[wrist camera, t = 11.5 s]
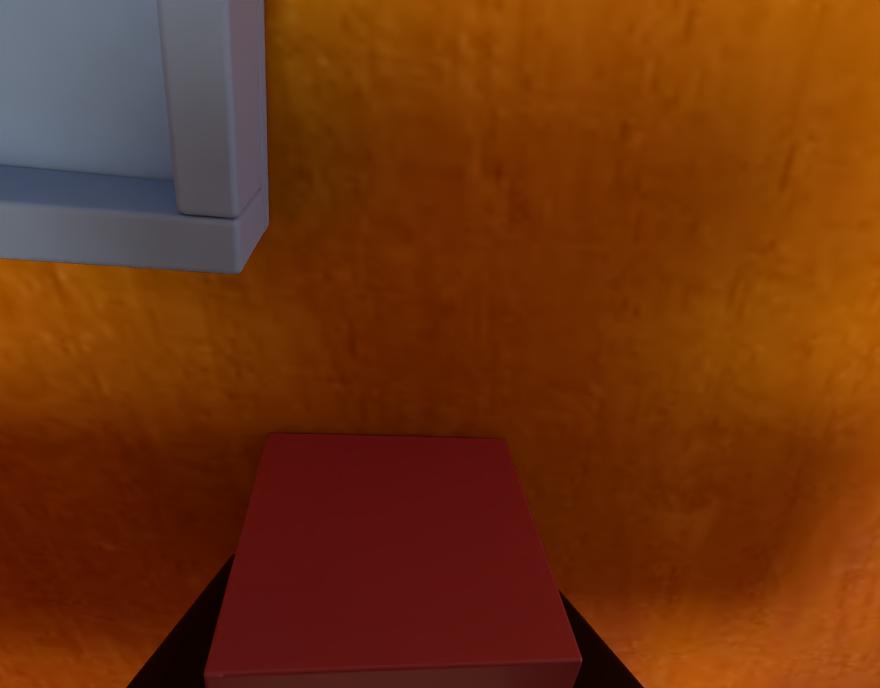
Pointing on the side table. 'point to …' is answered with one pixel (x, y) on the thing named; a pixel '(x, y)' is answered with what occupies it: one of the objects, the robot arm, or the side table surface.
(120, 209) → the blue tray
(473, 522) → the burgundy block
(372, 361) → the side table surface
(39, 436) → the side table surface
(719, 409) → the side table surface
